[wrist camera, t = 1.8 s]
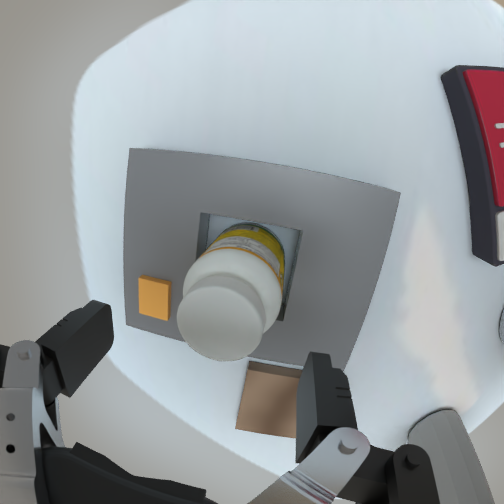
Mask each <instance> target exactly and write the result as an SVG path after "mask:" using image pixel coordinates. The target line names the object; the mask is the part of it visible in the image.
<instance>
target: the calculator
mask: <svg viewBox="0 0 504 504" xmlns="http://www.w3.org/2000/svg"><path fill="white" fill-rule="evenodd" d="M441 80H442V83H443V86H444V89H445V92H446V95H447V99H448V102H449V105H450V109H451V112H452V116H453V119H454V123H455V127H456V131H457V135H458V140H459V144H460V148H461V152H462V157H463V161H464V166H465V171H466V177H467V182H468V188H469V195H470V219H471V234H472V253H473V255H475V256H477V257H478V258H480V259H482V260H484V261H486V262H487V263H489V264H491V265H493V266H499V265H501V264H504V68H500V67H488V66H467V65H457V66H455V67H453V68H452V69H450V70H449V71H447V72H446V73H444V74H443V75H442V76H441Z"/></svg>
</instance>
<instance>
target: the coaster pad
mask: <svg viewBox="0 0 504 504" xmlns="http://www.w3.org/2000/svg"><path fill="white" fill-rule="evenodd" d="M302 371H303V370H298V369H292V368H285V367H279V366H274V365H268V364H263V363H257V362H252V361H249V365H248V370H247V375H246V379H245V384H244V389H243V394H242V399H241V404H240V408H239V413H238V418H237V422H236V427H235V429H239V430H245V431H250V432H256V433H261V434H268V435H274V436H282V437H289V438H296V394H297V387H298V382H299V379H300V377H301V374H302ZM346 377H347V376H346Z"/></svg>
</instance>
